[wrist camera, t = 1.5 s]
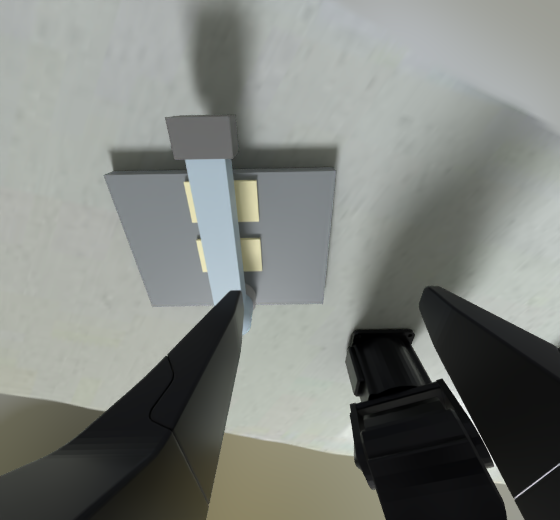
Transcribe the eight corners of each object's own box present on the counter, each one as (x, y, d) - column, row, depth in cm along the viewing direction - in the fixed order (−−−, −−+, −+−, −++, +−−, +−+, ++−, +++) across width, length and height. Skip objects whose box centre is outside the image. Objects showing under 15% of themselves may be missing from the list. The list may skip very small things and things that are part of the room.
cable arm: (254, 317, 23) (252, 337, 21) (219, 317, 23) (213, 338, 21) (235, 114, 15) (228, 116, 13) (180, 115, 15) (165, 117, 13)
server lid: (332, 167, 18) (338, 173, 17) (320, 301, 25) (323, 316, 23) (113, 171, 18) (96, 177, 17) (159, 304, 25) (151, 319, 23)
